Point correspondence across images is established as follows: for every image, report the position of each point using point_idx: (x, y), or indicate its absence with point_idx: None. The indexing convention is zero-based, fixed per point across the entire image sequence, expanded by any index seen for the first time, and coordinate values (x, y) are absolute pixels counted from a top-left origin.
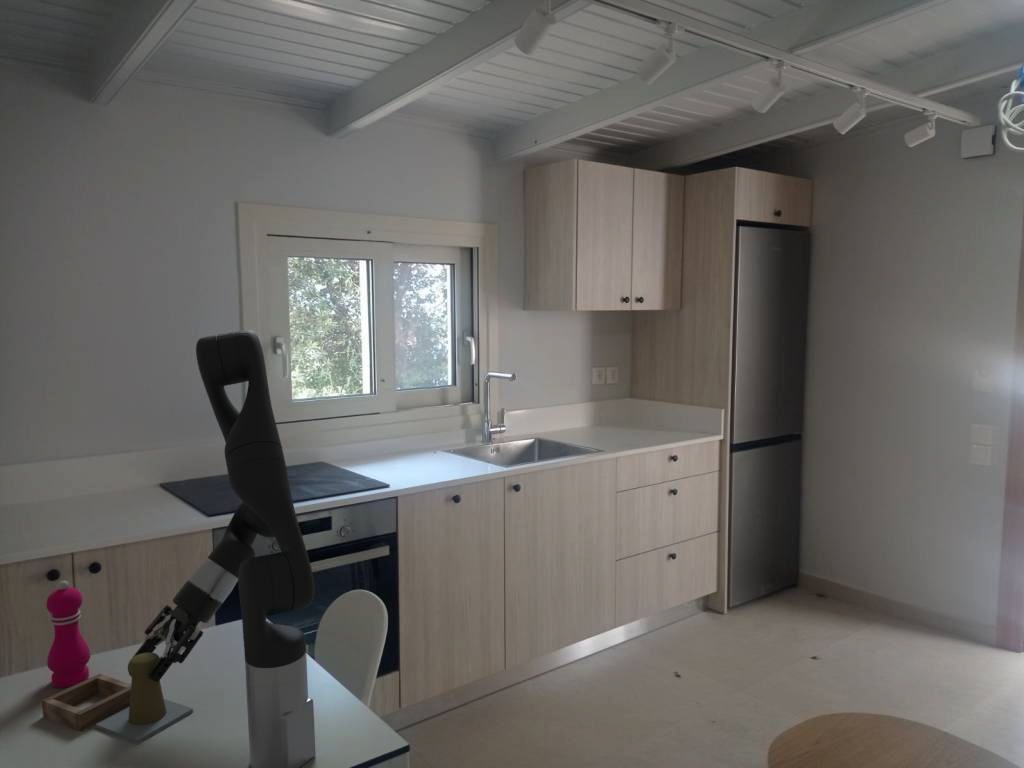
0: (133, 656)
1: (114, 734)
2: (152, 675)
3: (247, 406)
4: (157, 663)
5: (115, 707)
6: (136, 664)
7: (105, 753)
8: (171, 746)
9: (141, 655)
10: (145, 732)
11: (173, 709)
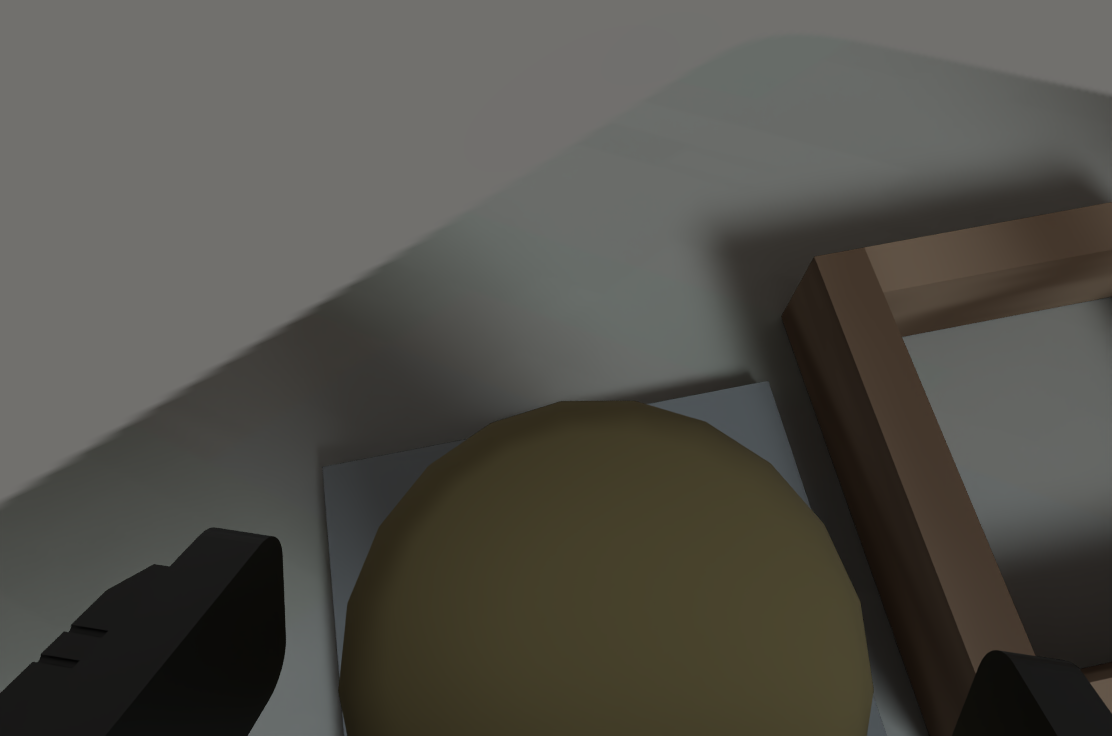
0: (1078, 680)
1: None
2: (166, 568)
3: None
4: (87, 674)
5: (885, 550)
6: (480, 444)
7: (404, 312)
8: (89, 606)
9: (670, 618)
10: (365, 548)
11: None
